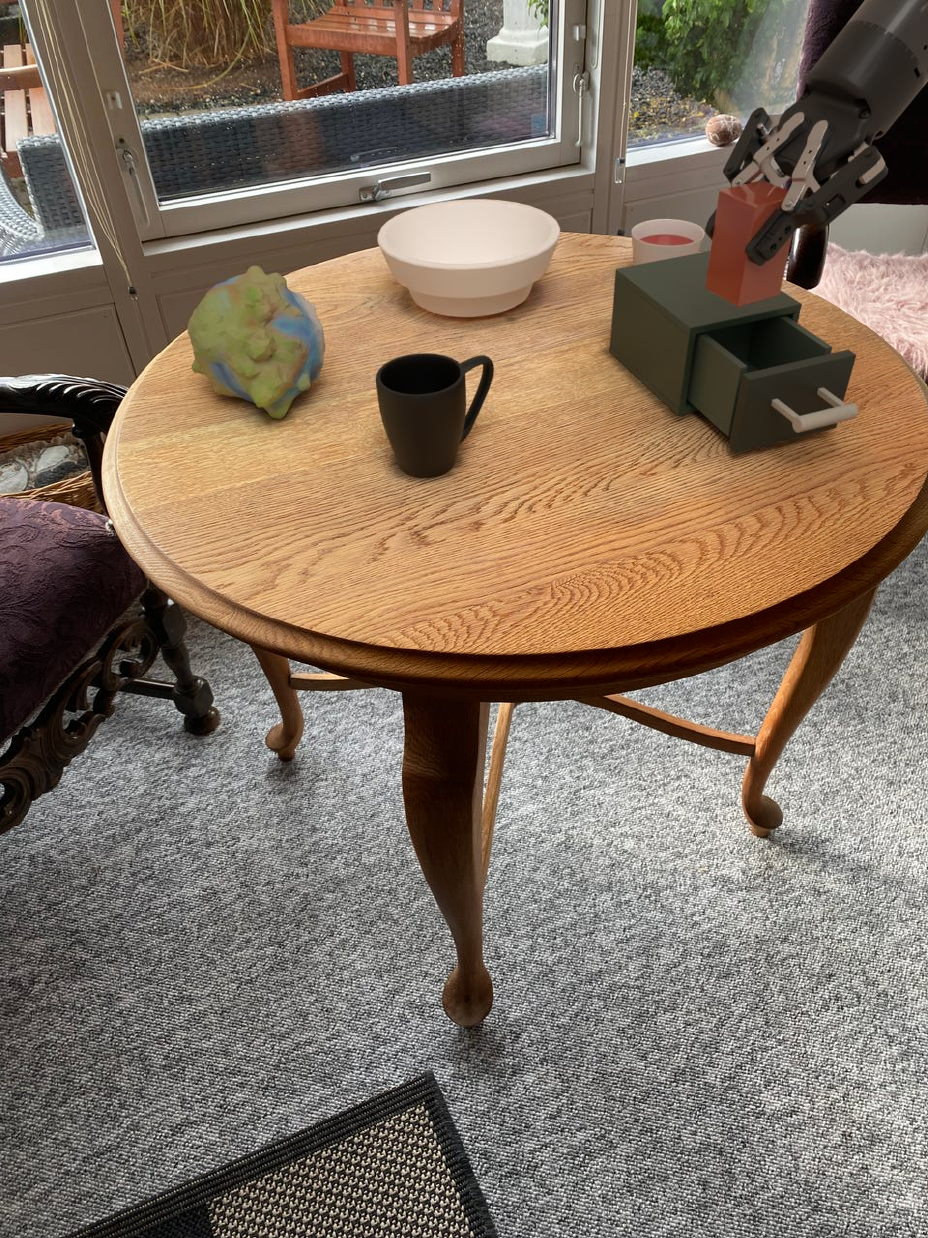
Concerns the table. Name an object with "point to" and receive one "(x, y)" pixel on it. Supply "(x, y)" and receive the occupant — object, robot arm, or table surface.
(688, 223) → the candle
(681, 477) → the table surface
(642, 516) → the table surface
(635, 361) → the cabinet
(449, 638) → the table surface
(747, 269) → the block
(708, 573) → the table surface
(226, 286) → the decorative rock
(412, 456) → the mug
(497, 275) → the bowl
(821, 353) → the drawer
